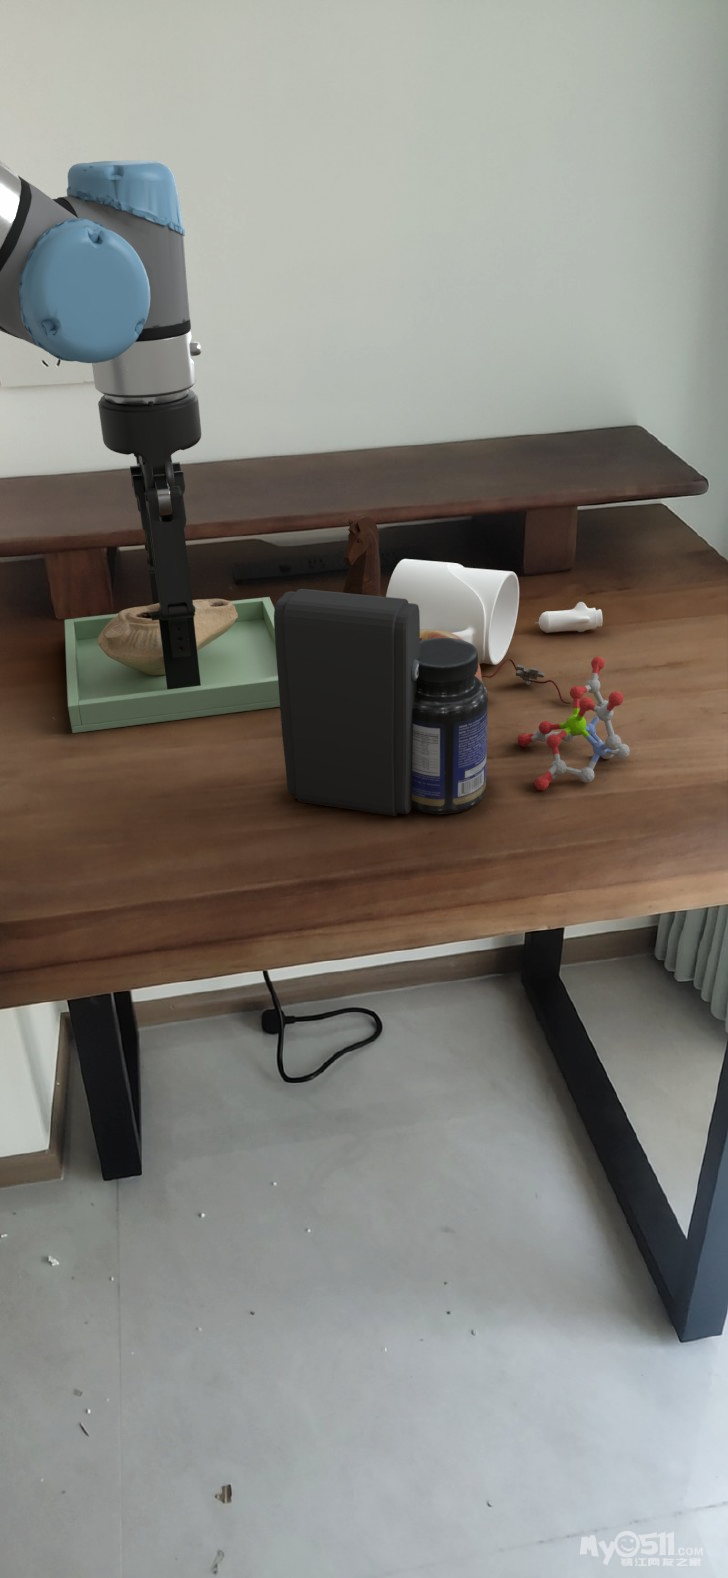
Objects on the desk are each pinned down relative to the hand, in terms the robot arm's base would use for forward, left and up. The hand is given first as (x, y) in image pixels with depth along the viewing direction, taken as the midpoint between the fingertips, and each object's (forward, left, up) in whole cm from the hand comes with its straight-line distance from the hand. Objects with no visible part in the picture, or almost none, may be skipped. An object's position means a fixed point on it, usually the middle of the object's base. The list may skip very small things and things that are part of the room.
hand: (178, 662), depth 101 cm
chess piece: (+18, +6, -1) cm, 19 cm away
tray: (0, 0, -1) cm, 1 cm away
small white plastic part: (+35, -1, -1) cm, 35 cm away
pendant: (+27, -13, +1) cm, 29 cm away
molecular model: (+26, -23, -1) cm, 35 cm away
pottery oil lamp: (0, +1, 0) cm, 1 cm away
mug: (+23, -4, -1) cm, 23 cm away
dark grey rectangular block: (+10, -24, -1) cm, 26 cm away
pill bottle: (+16, -25, -1) cm, 30 cm away
